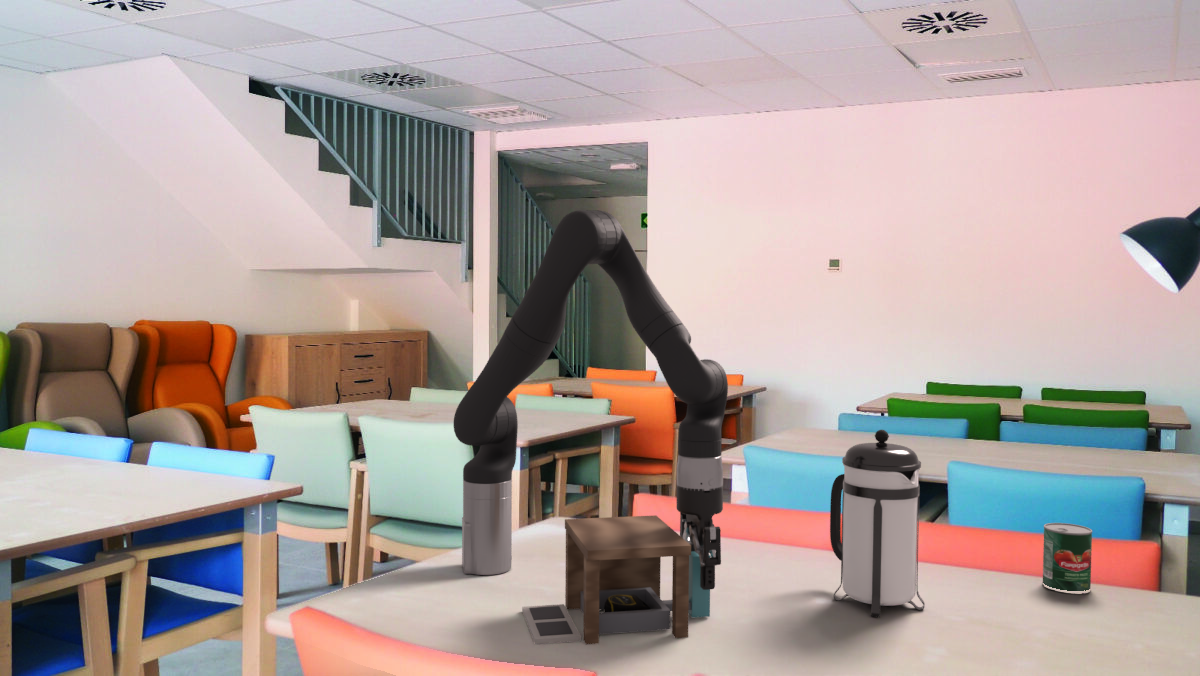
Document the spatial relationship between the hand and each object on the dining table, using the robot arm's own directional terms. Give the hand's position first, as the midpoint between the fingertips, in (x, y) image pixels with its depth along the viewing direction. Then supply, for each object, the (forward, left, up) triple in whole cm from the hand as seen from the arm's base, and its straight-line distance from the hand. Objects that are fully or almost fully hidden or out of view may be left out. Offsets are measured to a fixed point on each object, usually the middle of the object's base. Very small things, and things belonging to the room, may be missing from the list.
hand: (699, 581), depth 153 cm
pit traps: (-25, 0, -6) cm, 25 cm away
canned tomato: (+70, +2, -6) cm, 71 cm away
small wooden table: (-13, 0, -6) cm, 14 cm away
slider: (-9, 0, -6) cm, 10 cm away
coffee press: (+31, +1, -6) cm, 32 cm away
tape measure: (-12, 0, -6) cm, 13 cm away
